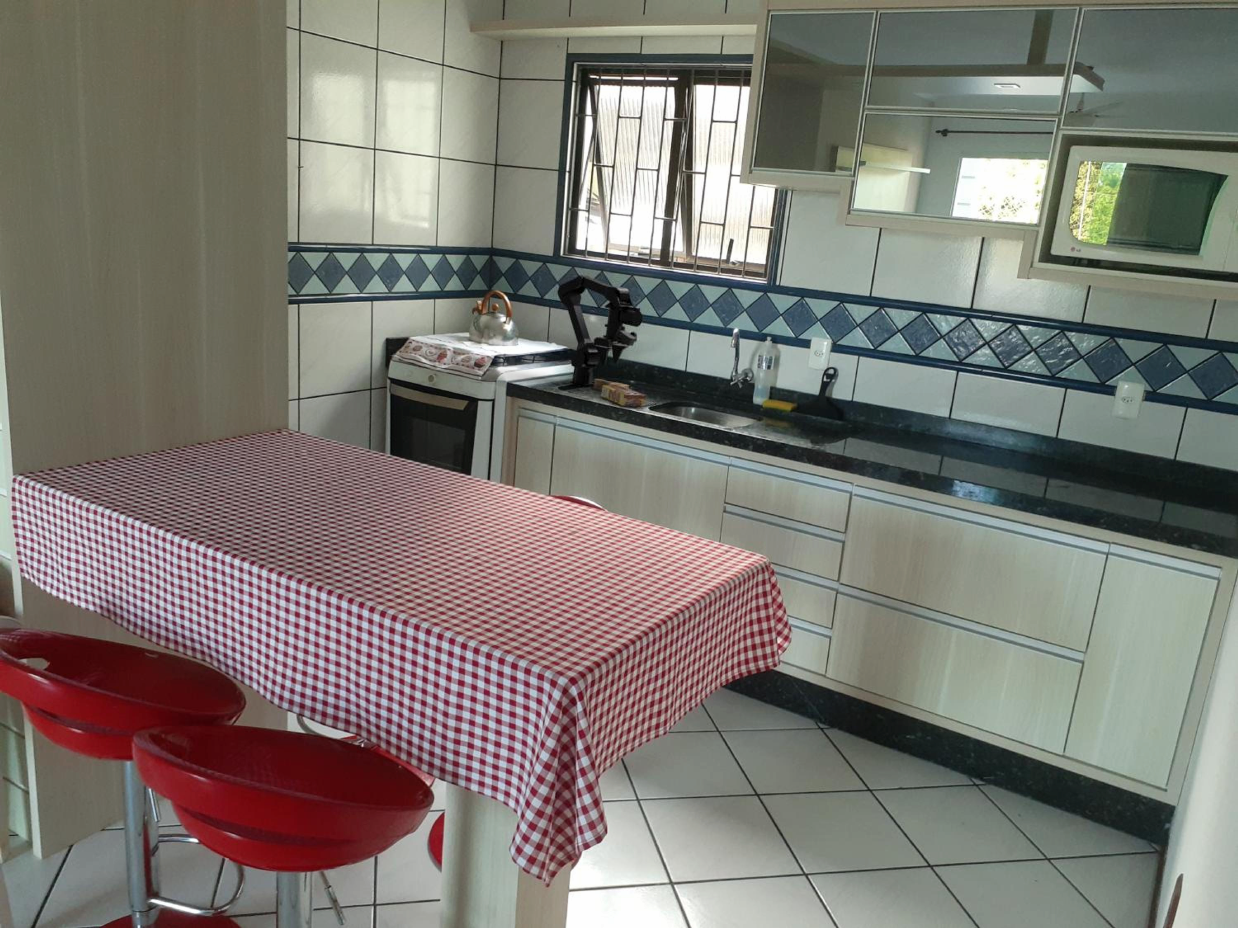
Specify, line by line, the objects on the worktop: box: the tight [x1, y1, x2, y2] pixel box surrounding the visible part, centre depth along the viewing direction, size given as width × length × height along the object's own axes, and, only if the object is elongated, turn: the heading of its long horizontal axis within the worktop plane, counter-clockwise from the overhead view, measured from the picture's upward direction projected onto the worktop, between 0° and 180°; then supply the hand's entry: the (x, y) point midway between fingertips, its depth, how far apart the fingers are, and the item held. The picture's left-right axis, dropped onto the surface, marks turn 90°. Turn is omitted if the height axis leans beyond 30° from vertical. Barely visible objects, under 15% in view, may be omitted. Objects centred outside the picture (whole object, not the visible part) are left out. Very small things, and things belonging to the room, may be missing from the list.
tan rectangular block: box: [593, 378, 630, 392], centre depth 352 cm, size 12×6×4 cm, turn 61°
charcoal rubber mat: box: [608, 399, 657, 408], centre depth 338 cm, size 12×14×1 cm
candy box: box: [600, 385, 646, 407], centre depth 334 cm, size 9×4×15 cm
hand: (609, 364), depth 351 cm, fingers open, 9 cm apart
